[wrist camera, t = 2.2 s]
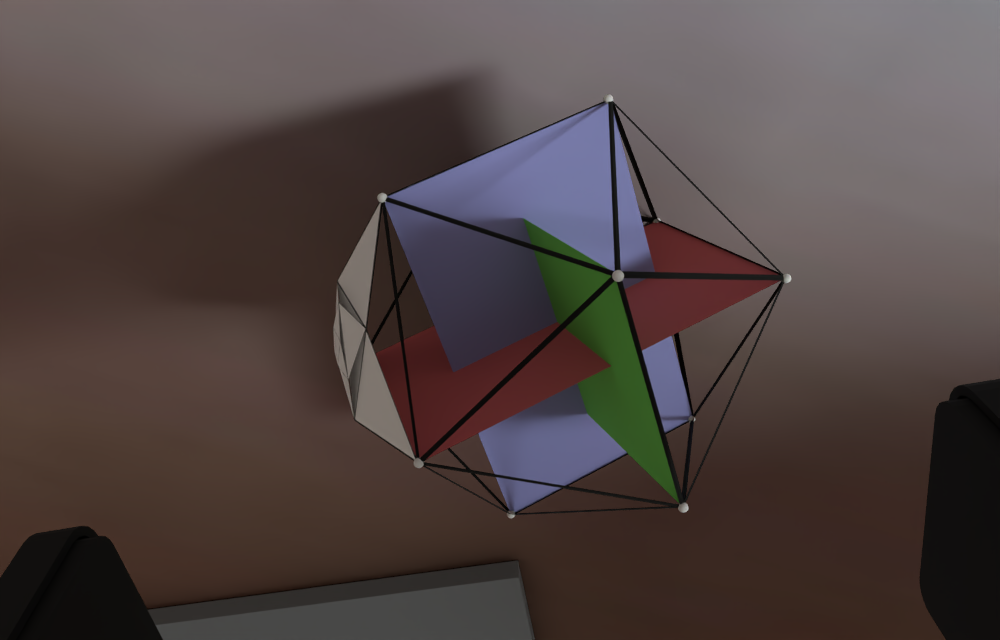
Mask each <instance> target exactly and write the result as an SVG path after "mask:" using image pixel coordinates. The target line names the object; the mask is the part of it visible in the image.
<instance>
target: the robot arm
mask: <svg viewBox="0 0 1000 640" xmlns="http://www.w3.org/2000/svg"><path fill="white" fill-rule="evenodd" d="M920 588H921V593H922V597H923V600H924V603H925V605H926V608H927V609H928V611H929V613H930V615H931V617H932V618H933V620H934V621H935V623H936V625H937V626H938V628H939V629H940V631H941V632H942V634H943V636H944V637H945V639H946V640H1000V379H996V380H990V381H984V382H978V383H971V384H965V385H959V386H957V387H955V388H954V389H953V391H952V392H951V394H950V399H949V401H944V402H941V403H939V405H938V406H937V408H936V413H935V422H934V432H933V443H932V453H931V464H930V474H929V485H928V495H927V506H926V516H925V527H924V537H923V548H922V558H921V569H920ZM0 640H163V639H162V637H161V635H160V633H159V631H158V629H157V627H156V625H155V623H154V621H153V619H152V618H151V616H150V614H149V612H148V610H147V608H146V606H145V604H144V602H143V600H142V598H141V596H140V595H139V593H138V591H137V589H136V587H135V585H134V583H133V581H132V579H131V577H130V575H129V573H128V572H127V570H126V568H125V566H124V564H123V562H122V560H121V558H120V556H119V554H118V552H117V551H116V549H115V547H114V545H113V543H112V542H111V541H110V539H108V538H107V537H105V536H98V535H97V534H96V532H95V531H94V530H93V529H91V528H89V527H87V526H79V527H73V528H66V529H60V530H54V531H48V532H41V533H36V534H34V535H32V536H30V537H29V538H28V539H27V540H26V541H25V542H24V543H23V545H22V546H21V548H20V549H19V551H18V552H17V554H16V555H15V557H14V558H13V560H12V561H11V563H10V564H9V566H8V567H7V569H6V570H5V572H4V573H3V575H2V576H1V578H0Z"/></svg>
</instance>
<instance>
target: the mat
mask: <svg viewBox="0 0 1000 640" xmlns="http://www.w3.org/2000/svg"><path fill="white" fill-rule="evenodd" d="M148 612H149V614H150V616H151V618H152V619H153V621H154V623H155V625H156V627H157V629H158V631H159V633H160V635H161V637H162V639H163V640H535V637H534V633H533V628H532V623H531V619H530V614H529V609H528V605H527V600H526V595H525V591H524V586H523V581H522V577H521V572H520V567H519V563H518V561H510V562H503V563H495V564H488V565H480V566H473V567H465V568H458V569H450V570H443V571H435V572H428V573H420V574H413V575H405V576H398V577H390V578H383V579H375V580H367V581H360V582H352V583H345V584H337V585H330V586H322V587H315V588H307V589H300V590H292V591H285V592H277V593H270V594H262V595H255V596H247V597H240V598H232V599H225V600H217V601H210V602H202V603H195V604H187V605H180V606H172V607H165V608H157V609H150V610H148Z"/></svg>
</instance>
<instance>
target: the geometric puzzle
mask: <svg viewBox="0 0 1000 640" xmlns="http://www.w3.org/2000/svg"><path fill="white" fill-rule="evenodd" d="M615 106H616V107H617V108H618V109H619V110H620V111H621V112H622V113H623V114H624V115H625V116H626V117H627V118H628V119H629V120H630V121H631V122H632V123H633V124H634V125H635V126H636V127H637V128H638V129H639V130H640V131H641V132H642V133H643V135H644V136H645V137H646V138H647V139H648V140H649V141H650V142H651V143H652V144H653V145H654V146H655V147H656V148H657V149H658V150H659V151H660V152H661V153H662V154H663V155H664V156H665V157H666V158H667V159H668V160H669V161H670V162H671V163H672V164H673V165H674V166H675V167H676V168H677V169H678V170H679V171H680V172H681V173H682V174H683V175H684V176H685V177H686V178H687V179H688V180H689V181H690V182H691V183H692V184H693V185H694V186H695V187H696V188H697V189H698V190H699V191H700V192H701V193H702V195H703V196H704V197H705V198H706V199H707V200H708V201H709V202H710V203H711V204H712V205H713V206H714V207H715V208H716V209H717V210H718V211H719V212H720V213H721V214H722V215H723V216H724V217H725V218H726V219H727V220H728V221H729V222H730V223H731V224H732V225H733V226H734V227H735V228H736V229H737V230H738V231H739V232H740V233H741V234H742V235H743V236H744V237H745V238H746V239H747V240H748V241H749V242H750V243H751V244H752V245H753V246H754V247H755V248H756V249H757V250H758V251H759V252H760V253H761V255H762V256H763V257H764V258H765V259H766V260H767V261H768V262H769V263H770V264H771V265H772V266H773V267H774V268H775V269H776V270H777V271H778V272H776V271H774V270H772V269H769V268H767V267H765V266H763V265H760V264H758V263H756V262H753V261H751V260H749V259H747V258H744V257H742V256H740V255H737V254H735V253H733V252H730V251H728V250H726V249H724V248H721V247H719V246H717V245H714V244H712V243H710V242H708V241H705V240H703V239H701V238H698V237H696V236H694V235H692V234H689V233H687V232H685V231H682V230H680V229H678V228H675V227H673V226H671V225H669V224H666V223H664V222H662V221H661V220H660V219H659V218H657V216H656V213H655V211H654V208H653V205H652V203H651V200H650V198H649V195H648V192H647V190H646V187H645V184H644V182H643V179H642V176H641V174H640V171H639V168H638V166H637V163H636V160H635V158H634V155H633V152H632V150H631V147H630V144H629V142H628V139H627V137H626V134H625V131H624V129H623V126H622V123H621V121H620V118H619V115H618V113H617V110H616V107H615ZM618 129H619V130H618ZM619 132H620V134H619ZM620 135H621V137H622V140H623V142H624V145H625V147H626V150H627V153H628V155H629V158H630V160H631V163H632V166H633V168H634V171H635V173H636V176H637V179H638V181H639V184H640V186H641V189H642V191H643V194H644V197H645V199H646V202H647V204H648V207H649V210H650V212H651V215H652V217H653V218H648V217H643V216H640V212H639V208H638V204H637V200H636V196H635V192H634V188H633V185H632V181H631V177H630V173H629V169H628V165H627V161H626V157H625V154H624V150H623V146H622V142H621V138H620ZM377 199H378V201H379V204H378V206H377V208H376V209H375V211H374V213H373V215H372V217H371V219H370V221H369V222H368V224H367V226H366V228H365V230H364V232H363V234H362V235H361V237H360V239H359V241H358V243H357V245H356V247H355V248H354V250H353V252H352V254H351V256H350V258H349V260H348V261H347V263H346V265H345V267H344V269H343V271H342V273H341V274H340V276H339V278H338V280H337V284H338V287H337V295H336V316H335V321H334V326H333V334H334V352H335V356H336V360H337V364H338V367H339V369H340V372H341V376H342V379H343V383H344V386H345V389H346V393H347V396H348V400H349V403H350V407H351V410H352V413H353V412H354V414H353V417H354V420H355V421H356V422H358V423H359V424H361V425H362V426H363V427H365V428H366V429H368V430H369V431H371V432H372V433H374V434H375V435H377V436H378V437H380V438H381V439H383V440H384V441H386V442H387V443H388V444H390V445H391V446H393V447H394V448H396V449H397V450H399V451H400V452H402V453H403V454H405V455H406V456H408V457H409V458H411V459H412V460H414V466H415V467H416V468H421V467H425V468H427V469H429V470H431V471H432V472H434V473H436V474H438V475H440V476H441V477H443V478H445V479H447V480H449V481H451V480H450V479H448V478H446V477H444V476H442V475H441V474H439V473H437V472H435V471H433V470H432V469H430V468H428V467H426V466H432V467H438V468H444V469H450V470H456V471H462V472H468V473H471V474H472V475H473V476H474V477H475V478H476V479H477V480H478V481H479V482H480V483H481V484H482V486H483V487H484V488H485V489H486V490H487V491H488V492H489V493H490V494H491V495H492V496H493V497H494V498H495V499H496V500H497V501H498V502H499V503H500V504H501V505H502V506H503V507H504V508H505V509H506V510H507V511H508V512H507V511H505V510H504V509H502V508H500V507H498V506H496V505H495V504H493V503H491V502H489V501H487V500H486V499H484V498H482V497H480V496H478V495H477V494H475V493H473V492H471V491H469V490H468V489H466V488H464V487H462V486H460V485H459V484H457V483H455V482H453V481H451V482H452V483H454V484H456V485H458V486H460V487H461V488H463V489H465V490H467V491H469V492H470V493H472V494H474V495H476V496H478V497H479V498H481V499H483V500H485V501H487V502H489V503H490V504H492V505H494V506H496V507H498V508H499V509H501V510H503V511H505V512H507V516H508V518H514V516H515V515H524V514H547V513H570V512H592V511H615V510H638V509H660V508H678V509H679V511H680V512H682V513H685V512H687V511H688V508H689V507H688V505H687V504H686V500H687V498H688V496H689V494H690V492H691V489H692V487H693V485H694V483H695V480H696V478H697V476H698V474H699V471H700V469H701V467H702V465H703V463H704V460H705V458H706V456H707V454H708V451H709V449H710V447H711V445H712V442H713V440H714V438H715V436H716V434H717V431H718V429H719V427H720V425H721V422H722V420H723V418H724V416H725V413H726V411H727V409H728V407H729V405H730V402H731V400H732V398H733V396H734V393H735V391H736V389H737V387H738V384H739V382H740V380H741V378H742V376H743V373H744V371H745V369H746V367H747V364H748V362H749V360H750V358H751V355H752V353H753V351H754V349H755V347H756V344H757V342H758V340H759V338H760V335H761V333H762V331H763V329H764V326H765V324H766V322H767V320H768V318H769V315H770V313H771V311H772V309H773V306H774V304H775V302H776V300H777V297H778V295H779V293H780V291H781V289H782V286H783V284H784V283H789V282H790V281H791V276H790V275H789V274H782V273H781V272H780V271H779V270H778V269H777V268H776V267H775V266H774V265H773V264H772V263H771V262H770V261H769V260H768V259H767V258H766V257H765V255H764V254H763V253H762V252H761V251H760V250H759V249H758V248H757V247H756V246H755V245H754V244H753V243H752V242H751V241H750V240H749V239H748V238H747V237H746V236H745V235H744V234H743V233H742V232H741V231H740V230H739V229H738V228H737V227H736V226H735V225H734V224H733V223H732V222H731V221H730V220H729V219H728V218H727V217H726V216H725V215H724V214H723V213H722V212H721V211H720V210H719V209H718V208H717V207H716V206H715V205H714V204H713V203H712V202H711V201H710V200H709V199H708V198H707V196H706V195H705V194H704V193H703V192H702V191H701V190H700V189H699V188H698V187H697V186H696V185H695V184H694V183H693V182H692V181H691V180H690V179H689V178H688V177H687V176H686V175H685V174H684V173H683V172H682V171H681V170H680V169H679V168H678V167H677V166H676V165H675V164H674V163H673V162H672V161H671V160H670V159H669V158H668V157H667V156H666V155H665V154H664V153H663V152H662V151H661V150H660V149H659V148H658V147H657V146H656V145H655V144H654V143H653V142H652V141H651V140H650V139H649V138H648V136H647V135H646V134H645V133H644V132H643V131H642V130H641V129H640V128H639V127H638V126H637V125H636V124H635V123H634V122H633V121H632V120H631V119H630V118H629V117H628V116H627V115H626V114H625V113H624V112H623V111H622V110H621V109H620V108H619V107H618V106H617V105H616V104H615V103H614V102H613V97H612V96H611V95H610V94H607V95H605V96H604V102H601V103H599V104H597V105H594V106H592V107H590V108H588V109H585V110H583V111H581V112H578V113H576V114H574V115H571V116H569V117H567V118H564V119H562V120H560V121H557V122H555V123H553V124H551V125H548V126H546V127H544V128H541V129H539V130H537V131H534V132H532V133H530V134H527V135H525V136H523V137H520V138H518V139H516V140H513V141H511V142H509V143H507V144H504V145H502V146H500V147H497V148H495V149H493V150H490V151H488V152H486V153H483V154H481V155H479V156H476V157H474V158H472V159H470V160H467V161H465V162H463V163H460V164H458V165H456V166H453V167H451V168H449V169H446V170H444V171H442V172H439V173H437V174H435V175H432V176H430V177H428V178H426V179H423V180H421V181H419V182H416V183H414V184H412V185H409V186H407V187H405V188H402V189H400V190H398V191H395V192H393V193H391V194H389V195H386V194H385V193H380V194H379V195H378V197H377ZM382 207H383V214H384V222H385V229H386V237H387V244H388V251H389V259H390V266H391V274H392V281H393V288H394V296H395V300H394V301H393V303H392V305H391V307H390V309H389V310H388V312H387V314H386V316H385V317H384V319H383V321H382V323H381V325H380V326H379V328H378V330H377V332H376V334H375V335H374V337H373V339H372V341H371V340H370V337H369V334H368V332H367V322H368V314H369V306H370V298H371V290H372V283H373V275H374V267H375V259H376V251H377V243H378V236H379V228H380V220H381V212H382ZM386 208H387V211H388V213H389V216H390V218H391V220H392V223H393V225H394V228H395V230H396V233H397V235H398V238H399V240H400V243H401V245H402V247H403V250H404V252H405V255H406V257H407V260H408V262H409V265H410V267H411V271H410V273H409V275H408V276H407V278H406V280H405V282H404V283H403V285H402V287H401V289H400V291H399V292H398V294H397V287H396V280H395V272H394V265H393V257H392V250H391V243H390V235H389V228H388V220H387V213H386ZM642 221H646V222H651V223H650V224H649V225H647V226H645V227H643V223H642ZM412 273H413V275H414V277H415V279H416V282H417V284H418V287H419V289H420V292H421V294H422V297H423V299H424V302H425V304H426V306H427V309H428V311H429V314H430V316H431V319H432V321H433V324H434V326H432V327H430V328H428V329H426V330H424V331H422V332H420V333H417V334H415V335H413V336H411V337H409V338H407V339H405V340H404V339H403V331H402V324H401V316H400V309H399V302H398V298H399V296H400V295H401V293H402V291H403V289H404V287H405V286H406V284H407V282H408V280H409V278H410V277H411V275H412ZM779 281H781V283H780V284H779V286H778V287H777V289H776V290H775V292H774V293H773V295H772V296H771V298H770V299H769V301H768V302H767V304H766V305H765V307H764V309H763V310H762V312H761V313H760V315H759V316H758V318H757V319H756V321H755V322H754V324H753V325H752V327H751V328H750V330H749V331H748V333H747V334H746V336H745V337H744V339H743V340H742V342H741V343H740V345H739V346H738V348H737V349H736V351H735V353H734V354H733V356H732V357H731V359H730V360H729V362H728V363H727V365H726V366H725V368H724V369H723V371H722V372H721V374H720V375H719V377H718V378H717V380H716V381H715V383H714V384H713V386H712V387H711V389H710V390H709V392H708V393H707V395H706V397H705V398H704V400H703V401H702V403H701V404H700V406H699V407H698V409H697V410H696V412H695V413H694V415H693V410H692V404H691V399H690V393H689V388H688V382H687V377H686V371H685V366H684V361H683V355H682V350H681V344H680V339H679V333H678V332H680V331H682V330H684V329H686V328H688V327H690V326H692V325H694V324H696V323H698V322H700V321H702V320H704V319H705V318H707V317H709V316H711V315H713V314H715V313H717V312H719V311H721V310H723V309H725V308H727V307H729V306H731V305H733V304H735V303H737V302H739V301H741V300H743V299H745V298H747V297H749V296H751V295H753V294H755V293H757V292H759V291H761V290H763V289H765V288H767V287H769V286H771V285H773V284H775V283H777V282H779ZM338 292H339V300H340V303H339V300H338ZM777 292H778V293H777ZM776 294H777V296H776V298H775V300H774V302H773V304H772V307H771V309H770V311H769V313H768V316H767V318H766V320H765V322H764V324H763V327H762V329H761V331H760V333H759V336H758V338H757V340H756V342H755V345H754V347H753V349H752V351H751V353H750V356H749V358H748V360H747V362H746V365H745V367H744V369H743V371H742V373H741V376H740V378H739V380H738V382H737V385H736V387H735V389H734V391H733V394H732V396H731V398H730V400H729V402H728V405H727V407H726V409H725V411H724V414H723V416H722V418H721V420H720V423H719V425H718V427H717V429H716V431H715V434H714V436H713V438H712V440H711V443H710V445H709V447H708V449H707V451H706V454H705V456H704V458H703V460H702V463H701V465H700V467H699V469H698V472H697V474H696V476H695V478H694V480H693V483H692V485H691V487H690V489H689V492H688V494H687V496H686V491H687V482H688V472H689V463H690V453H691V444H692V434H693V424H694V421H695V416H696V414H697V413H698V411H699V410H700V408H701V407H702V405H703V404H704V402H705V401H706V399H707V398H708V396H709V395H710V393H711V392H712V390H713V389H714V387H715V386H716V384H717V383H718V381H719V380H720V378H721V377H722V375H723V374H724V372H725V371H726V369H727V368H728V366H729V365H730V363H731V362H732V360H733V359H734V357H735V356H736V354H737V353H738V351H739V350H740V348H741V347H742V345H743V344H744V342H745V341H746V339H747V337H748V336H749V334H750V333H751V331H752V330H753V328H754V327H755V325H756V324H757V322H758V321H759V319H760V318H761V316H762V315H763V313H764V312H765V310H766V309H767V307H768V306H769V304H770V303H771V301H772V300H773V298H774V297H775V295H776ZM395 304H396V311H397V318H398V326H399V333H400V340H401V341H400V342H398V343H396V344H394V345H392V346H390V347H388V348H386V349H383V350H381V351H379V352H377V353H375V350H374V347H373V343H374V341H375V339H376V338H377V336H378V334H379V332H380V330H381V329H382V327H383V325H384V323H385V321H386V320H387V318H388V316H389V314H390V312H391V311H392V309H393V307H394V305H395ZM672 335H674V336H675V342H676V347H677V353H678V358H679V363H678V359H677V355H676V351H675V347H674V343H673V339H672ZM679 364H680V367H679ZM680 369H681V370H680ZM349 380H350V387H349ZM350 388H351V394H350ZM351 396H352V401H351ZM352 404H353V407H352ZM688 422H690V428H689V437H688V446H687V454H686V463H685V471H684V480H683V489H682V492H681V489H680V485H679V482H678V478H677V474H676V471H675V467H674V464H673V460H672V456H671V453H670V449H669V446H668V442H667V439H666V435H665V434H667V433H669V432H671V431H672V430H674V429H676V428H678V427H680V426H682V425H684V424H686V423H688ZM476 434H479V437H480V439H481V442H482V444H483V447H484V449H485V452H486V454H487V456H488V459H489V461H490V464H491V466H492V469H493V471H494V474H491V473H485V472H479V471H473V470H470V469H469V468H468V466H467V465H466V464H465V463H464V462H463V461H462V460H461V459H460V458H459V457H458V456H457V455H456V454H455V453H454V452H453V451H452V450H451V449H450V447H452V446H454V445H456V444H458V443H460V442H462V441H464V440H466V439H468V438H470V437H472V436H474V435H476ZM446 449H448V450H449V451H450V452H451V453H452V454H453V455H454V456H455V458H456V459H457V460H458V461H459V462H460V463H461V464H462V465H463V466H464V467H465V468H466V469H461V468H455V467H449V466H443V465H437V464H431V463H425V462H424V461H425V460H426V459H428V458H430V457H432V456H434V455H436V454H438V453H440V452H442V451H444V450H446ZM627 454H629V455H630V456H631V457H632V458H633V459H634V460H635V461H636V462H637V463H638V464H639V465H640V466H641V467H642V468H643V469H644V470H645V471H646V472H647V473H648V474H650V475H651V476H652V477H653V478H654V479H655V480H656V481H657V482H658V483H659V484H660V485H661V486H662V487H663V488H664V489H665V490H666V491H667V492H668V493H669V494H670V495H671V496H672V497H673V498H674V499H675V500H676V501H677V502H678V503H679V505H678V504H672V503H666V502H660V501H654V500H648V499H642V498H636V497H630V496H624V495H618V494H612V493H606V492H600V491H594V490H588V489H582V488H576V487H570V486H569V485H571V484H573V483H574V482H576V481H578V480H580V479H582V478H584V477H586V476H588V475H590V474H591V473H593V472H595V471H597V470H599V469H601V468H603V467H605V466H607V465H608V464H610V463H612V462H614V461H616V460H618V459H620V458H622V457H623V456H625V455H627ZM424 465H425V466H424ZM475 474H480V475H486V476H492V477H496V479H497V481H498V484H499V486H500V488H501V491H502V493H503V496H504V498H505V501H506V503H507V506H508V508H509V509H508V508H507V507H506V506H505V505H504V504H503V503H502V502H501V501H500V500H499V499H498V498H497V497H496V496H495V494H494V493H493V492H492V491H491V490H490V489H489V488H488V487H487V486H486V485H485V484H484V483H483V482H482V481H481V480H480V479H479V478H478V477H477V476H476V475H475ZM563 488H565V489H571V490H577V491H583V492H589V493H595V494H601V495H607V496H613V497H619V498H625V499H631V500H637V501H643V502H649V503H655V504H661V505H667V506H669V507H647V508H625V509H604V510H582V511H560V512H538V513H518V512H520V511H522V510H524V509H526V508H527V507H529V506H531V505H533V504H535V503H537V502H539V501H541V500H542V499H544V498H546V497H548V496H550V495H552V494H554V493H556V492H558V491H559V490H561V489H563ZM516 513H517V514H516Z"/></svg>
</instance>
